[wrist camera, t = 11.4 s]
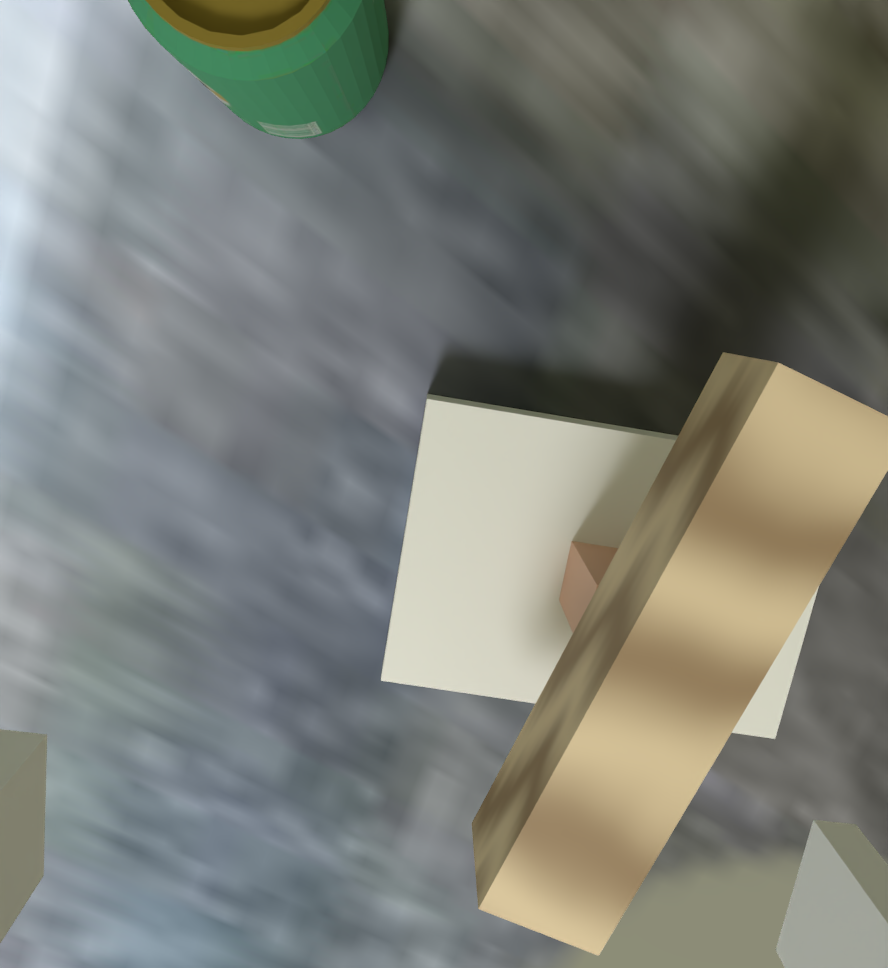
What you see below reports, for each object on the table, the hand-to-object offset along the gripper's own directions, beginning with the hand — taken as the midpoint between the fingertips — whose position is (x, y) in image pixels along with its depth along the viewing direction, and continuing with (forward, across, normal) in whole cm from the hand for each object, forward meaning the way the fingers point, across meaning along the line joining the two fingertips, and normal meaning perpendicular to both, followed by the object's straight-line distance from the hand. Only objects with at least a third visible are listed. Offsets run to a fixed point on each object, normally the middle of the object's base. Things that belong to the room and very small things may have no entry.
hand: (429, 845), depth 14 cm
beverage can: (+27, -8, +18) cm, 34 cm away
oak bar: (+18, +9, -3) cm, 21 cm away
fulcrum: (+26, +9, -3) cm, 28 cm away
